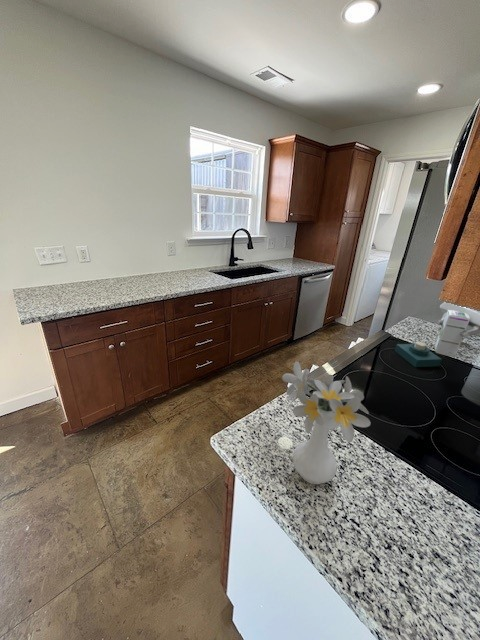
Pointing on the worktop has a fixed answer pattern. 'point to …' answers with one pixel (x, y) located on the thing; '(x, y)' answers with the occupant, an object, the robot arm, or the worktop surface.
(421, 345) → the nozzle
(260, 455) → the worktop surface
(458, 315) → the syrup box
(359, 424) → the flower vase
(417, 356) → the cap block
